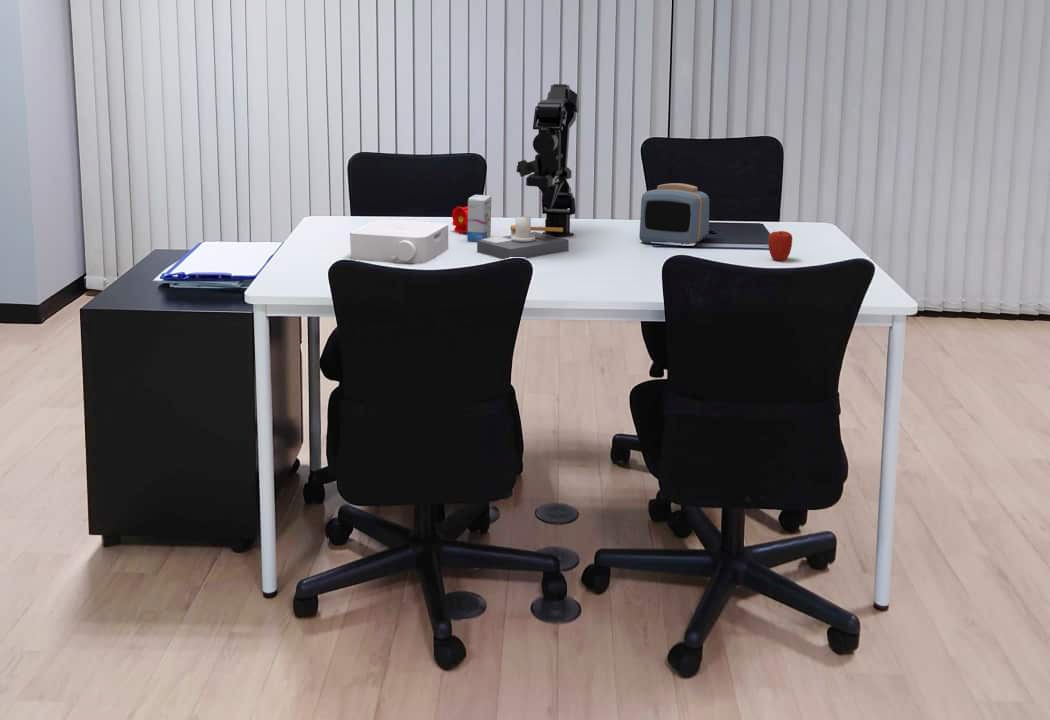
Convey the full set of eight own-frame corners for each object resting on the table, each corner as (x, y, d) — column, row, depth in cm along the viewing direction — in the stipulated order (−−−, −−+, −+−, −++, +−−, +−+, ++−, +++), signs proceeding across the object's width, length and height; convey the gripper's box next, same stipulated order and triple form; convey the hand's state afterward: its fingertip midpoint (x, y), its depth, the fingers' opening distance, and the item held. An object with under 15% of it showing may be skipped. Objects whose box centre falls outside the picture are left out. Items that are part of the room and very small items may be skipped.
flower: (491, 215, 384) (467, 217, 380) (484, 237, 389) (460, 240, 384) (478, 200, 389) (454, 201, 385) (471, 222, 394) (447, 224, 389)
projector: (345, 260, 351) (344, 234, 349) (377, 244, 372) (377, 218, 370) (422, 266, 346) (422, 239, 344) (450, 248, 367) (450, 223, 365)
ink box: (484, 242, 373) (484, 199, 370) (467, 241, 374) (466, 198, 371) (491, 236, 382) (491, 194, 378) (474, 235, 382) (474, 193, 379)
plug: (524, 247, 367) (524, 214, 364) (539, 251, 362) (540, 218, 360) (505, 250, 363) (506, 217, 360) (521, 254, 358) (521, 221, 356)
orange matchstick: (509, 230, 367) (509, 226, 367) (511, 228, 370) (511, 224, 369) (561, 232, 365) (561, 228, 365) (563, 230, 367) (563, 227, 367)
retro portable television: (636, 244, 373) (638, 186, 369) (654, 233, 388) (656, 177, 383) (694, 249, 367) (697, 190, 363) (710, 238, 382) (713, 181, 377)
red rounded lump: (772, 256, 359) (773, 228, 357) (794, 258, 356) (796, 230, 354) (763, 260, 354) (765, 232, 352) (786, 263, 351) (788, 234, 349)
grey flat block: (532, 241, 375) (532, 226, 374) (568, 250, 364) (568, 235, 362) (474, 251, 362) (474, 235, 361) (510, 260, 351) (510, 244, 350)
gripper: (534, 144, 371) (533, 201, 376) (507, 152, 355) (507, 212, 359) (572, 146, 367) (571, 204, 372) (547, 155, 351) (546, 215, 355)
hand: (548, 208), depth 364 cm, fingers closed
